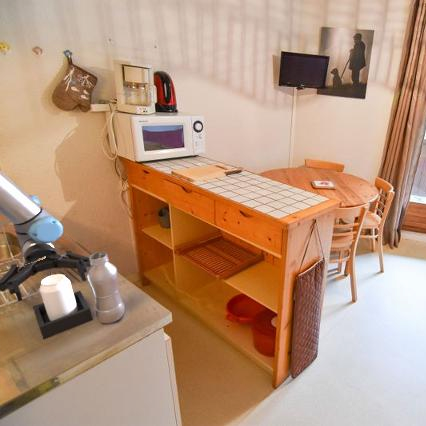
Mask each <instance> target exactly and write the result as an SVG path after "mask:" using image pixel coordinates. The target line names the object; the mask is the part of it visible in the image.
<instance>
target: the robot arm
mask: <svg viewBox="0 0 426 426" xmlns="http://www.w3.org/2000/svg"><path fill="white" fill-rule="evenodd" d="M0 215H2V216H3V217H4V218H6V219H7V220H8V221H9V222H11V223H12V225H13V228H14V230H15V234H16V237H17V241H18V245H19V247H20V249H21V253H22V256H23V259H24V264H21V265H18V264H17V263H13V264H11V265H10V268H9V269H8V271H6V272H5V274H4V275H2V277H1V278H0V292H4V291H7V290H8V291H9V292H8V293H9V294H10V295H15V296H16V299H17V301H18V302H22V301H23V297H22V293H21V289H20V285H22V284H23V283H24V282H26V281H27V280H29V278H30V277H34V276H35V275H37V274H38V273H41V272H44V271H46V270H52V269H63V268H64V269H71V270H72V269H73V270H77V273H78V274H79V276H80V278H81V280H82V282H86V281H87V276H86V273H88V267H91V266H92V265H91V264H90V257H88V256H84V255H81V254H78V253H74V252H73V251H71V250H66V251H65V253H64V254H59V253H58V251H57V250H56V247H55V246H54V244H53V242H55V241H57V240H58V239H60V237H62V235H63V232H64V226H63V225H62V223H61V222H60V220H59V219H57V218H55V217H54V216H53V215H52V214H50V213H49V212H48V211H47V210H46V209H45V208H43V207H42V203H41V201H40V200H39V198H38V196H36V195H33V194H27V193H26V192H25V191H24V190H23V189H22V188H21V187H20V186H18V184H17V183H15V182H14V181H13V180H12V179H10V178H9V177H8V176H7V175H6V174H5V173H4V172H2V171H1V170H0ZM44 256H46V258H45V259H43V260H40V261H37V260H38V259H39V258H42V257H44ZM34 261H37V262H34ZM31 262H34V263H31ZM28 263H30V264H28ZM25 264H27V265H25Z"/></svg>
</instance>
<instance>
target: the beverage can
mask: <svg viewBox="0 0 426 426" xmlns="http://www.w3.org/2000/svg"><path fill="white" fill-rule="evenodd" d="M39 292H40V295H41V298H42V303H44V305H45V308H46V311H47V314H48V317H49V319H50V321H53V320H55V319H58V318H61V317H64V316H66V315H69V314H72V313H75V312H77V311H78V309H77V305H76V301H75V297H74V293H75V292H74V289H73V287H72V283H71V280H70V279H69V278H68V277H66V275H65V274H62V273H56V274H55V273H54V274H51V275H48V276H46V277H44V278H43V279H41V281H40V286H39Z"/></svg>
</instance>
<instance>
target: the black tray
mask: <svg viewBox="0 0 426 426" xmlns="http://www.w3.org/2000/svg"><path fill="white" fill-rule="evenodd" d="M73 293H74V297H75V301H76V305H77V309H78V311H77V312H75V313H72V314H69V315H66V316H64V317H61V318H58V319H55V320H53V321H50V319H49V317H48V314H47V311H46V308H45V305H44V302H41V303H39V304H36V305H33V306H32V309H33V312H34V315H35V318H36V322H37V325H38V328H39V331H40V333H41V337H42V339H43V340H46V339H48V338H50V337H51V338H52V337H54V336H56V335H58V334H61V333H63V332H66V331H69V330H71V329H74V328H76V327H78V326H81V325H83V324H87V323H89V322H91V321H93V320H94V318H93V315H92V311H91V308H90V306H89V304H88V302H87V301H86V299H85V297H84V295H83V292H82V291H81V290H78V291H75V292H73Z"/></svg>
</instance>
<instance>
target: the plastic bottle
mask: <svg viewBox="0 0 426 426" xmlns="http://www.w3.org/2000/svg"><path fill="white" fill-rule="evenodd" d="M89 258H90V264H91V266H90V268H89V269H88V270H87V275H86V279H87V281H88V283H89V286H90V287H91V290H92V293H93V297H94V299H95V301H94V302H95V317H96V320H98V322H100V323H102V324H111V323H115V322H117V321H118V320H121V318H122V317H123V315H124V313H125V308H126V307H125V304H124V302H123V299H122V298H121V294H120V291H119V284H118V276H119V275H118V268H117V267H116V266H115V265H114V264H113V263H112V262H110V258H109V257H108V253H107V252H105V251H100V252H95V253H92V254H91V255H90V256H89Z"/></svg>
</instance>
